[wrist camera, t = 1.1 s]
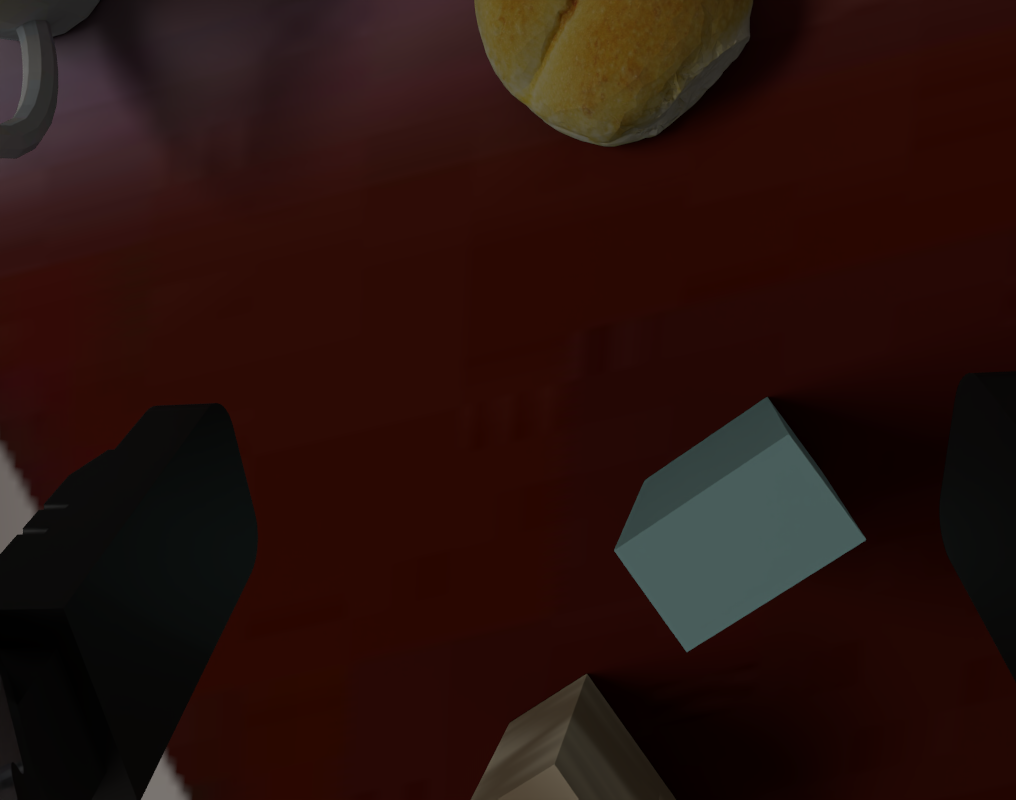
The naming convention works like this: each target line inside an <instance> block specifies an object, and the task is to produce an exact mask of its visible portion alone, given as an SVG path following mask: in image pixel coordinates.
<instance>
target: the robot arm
mask: <svg viewBox="0 0 1016 800" xmlns="http://www.w3.org/2000/svg"><path fill="white" fill-rule="evenodd" d="M939 511H940V527H941V534H942V538H943V543H944V546H945V549H946V552H947V555H948V557H949V559H950V561H951V563H952V565H953V567H954V568H955V570H956V572H957V574H958V576H959V578H960V579H961V581H962V583H963V585H964V587H965V589H966V591H967V592H968V594H969V596H970V598H971V600H972V602H973V604H974V605H975V607H976V609H977V611H978V613H979V615H980V617H981V618H982V620H983V622H984V624H985V626H986V628H987V630H988V631H989V633H990V635H991V637H992V639H993V641H994V643H995V644H996V646H997V648H998V650H999V652H1000V654H1001V656H1002V657H1003V659H1004V661H1005V663H1006V665H1007V667H1008V669H1009V670H1010V672H1011V674H1012V676H1013V678H1014V680H1015V681H1016V371H1011V372H987V373H969V374H966V375H965V376H964V377H963V378H962V380H961V381H960V383H959V386H958V389H957V392H956V397H955V403H954V409H953V416H952V422H951V429H950V436H949V442H948V449H947V456H946V462H945V469H944V475H943V482H942V489H941V495H940V509H939ZM257 542H258V533H257V522H256V516H255V512H254V508H253V504H252V500H251V496H250V492H249V488H248V484H247V480H246V476H245V472H244V468H243V464H242V460H241V456H240V452H239V448H238V444H237V440H236V436H235V432H234V429H233V425H232V421H231V419H230V416H229V414H228V412H227V411H226V409H225V408H224V407H223V406H222V405H221V404H218V403H211V404H188V405H164V406H153V407H151V408H150V409H148V410H147V411H146V413H145V414H144V415H143V416H142V417H141V419H140V420H139V421H138V422H137V423H136V425H135V426H134V427H133V428H132V429H131V431H130V432H129V433H128V434H127V435H126V437H125V438H124V439H123V440H122V441H121V443H120V444H119V445H118V446H117V447H116V449H115V450H107V451H106V452H104V453H103V454H101V455H100V456H98V457H97V458H95V459H94V460H92V461H91V462H89V463H87V464H86V465H84V466H83V467H81V468H80V469H78V470H77V471H75V472H74V473H72V474H71V475H69V476H68V477H67V478H66V480H65V481H64V482H63V483H62V484H61V485H60V486H59V488H58V489H57V490H56V491H55V492H54V493H53V494H52V496H51V497H50V498H49V499H48V500H47V501H46V502H45V504H44V510H38V512H37V513H36V514H35V515H34V516H33V517H32V518H31V520H30V521H29V522H28V523H27V524H26V525H25V527H24V528H23V535H17V536H16V537H15V538H14V539H13V540H12V541H11V542H10V544H9V545H8V546H7V547H6V548H5V549H4V551H3V552H2V553H1V554H0V800H141V798H142V796H143V794H144V792H145V790H146V788H147V786H148V784H149V782H150V780H151V778H152V776H153V773H154V771H155V769H156V767H157V765H158V763H159V761H160V759H161V757H162V755H163V753H164V751H165V749H166V747H167V745H168V743H169V741H170V739H171V736H172V734H173V732H174V730H175V728H176V726H177V724H178V722H179V720H180V718H181V716H182V714H183V712H184V710H185V708H186V706H187V704H188V702H189V700H190V697H191V695H192V693H193V691H194V689H195V687H196V685H197V683H198V681H199V679H200V677H201V675H202V673H203V671H204V669H205V667H206V665H207V663H208V660H209V658H210V656H211V654H212V652H213V650H214V648H215V646H216V644H217V642H218V640H219V638H220V636H221V634H222V632H223V630H224V628H225V626H226V623H227V621H228V619H229V617H230V615H231V613H232V611H233V609H234V607H235V605H236V603H237V601H238V599H239V597H240V595H241V593H242V591H243V589H244V587H245V584H246V582H247V580H248V578H249V576H250V574H251V572H252V569H253V567H254V563H255V559H256V553H257Z"/></svg>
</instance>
